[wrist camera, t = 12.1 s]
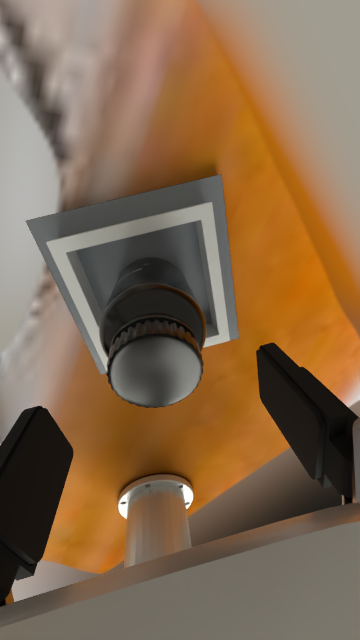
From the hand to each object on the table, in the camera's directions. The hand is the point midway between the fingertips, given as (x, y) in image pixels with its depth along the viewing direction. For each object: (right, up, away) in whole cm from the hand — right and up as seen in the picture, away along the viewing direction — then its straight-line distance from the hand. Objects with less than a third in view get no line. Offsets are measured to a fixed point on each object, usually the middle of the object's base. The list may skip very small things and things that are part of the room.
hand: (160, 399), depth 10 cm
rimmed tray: (-2, +7, +12) cm, 14 cm away
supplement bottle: (-2, +6, +12) cm, 14 cm away
